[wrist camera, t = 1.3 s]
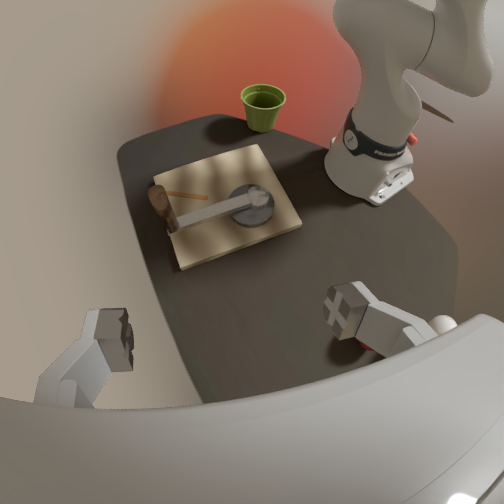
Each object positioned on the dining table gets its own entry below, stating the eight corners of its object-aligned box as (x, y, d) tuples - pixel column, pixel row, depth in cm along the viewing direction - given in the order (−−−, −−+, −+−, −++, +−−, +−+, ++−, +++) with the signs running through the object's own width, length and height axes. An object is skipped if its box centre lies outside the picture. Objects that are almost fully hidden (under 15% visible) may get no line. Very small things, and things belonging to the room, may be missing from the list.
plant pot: (289, 131, 58) (294, 102, 50) (252, 143, 56) (254, 113, 48) (267, 108, 61) (270, 80, 53) (233, 119, 59) (232, 90, 51)
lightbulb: (429, 326, 43) (466, 314, 33) (424, 358, 41) (463, 354, 30) (404, 320, 43) (440, 308, 33) (398, 355, 41) (436, 350, 31)
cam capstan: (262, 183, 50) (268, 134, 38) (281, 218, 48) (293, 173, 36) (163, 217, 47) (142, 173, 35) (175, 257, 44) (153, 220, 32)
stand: (256, 148, 56) (257, 143, 54) (300, 227, 49) (302, 222, 48) (155, 181, 52) (153, 176, 50) (182, 270, 45) (179, 267, 44)
